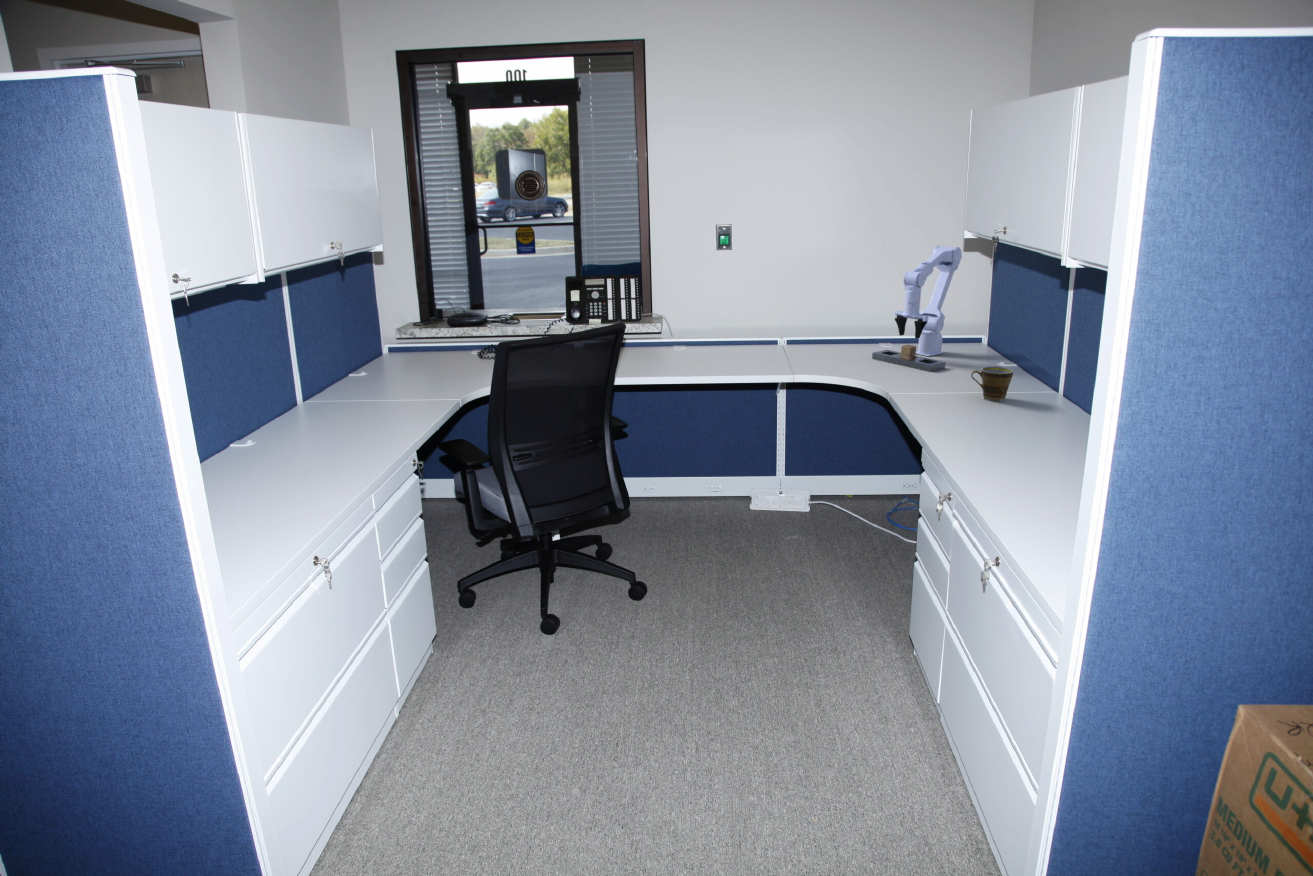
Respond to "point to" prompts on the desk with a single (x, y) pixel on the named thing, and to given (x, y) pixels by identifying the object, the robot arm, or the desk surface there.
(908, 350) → the square peg
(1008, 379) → the ceramic cup
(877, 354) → the grey square hole board
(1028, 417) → the desk surface
